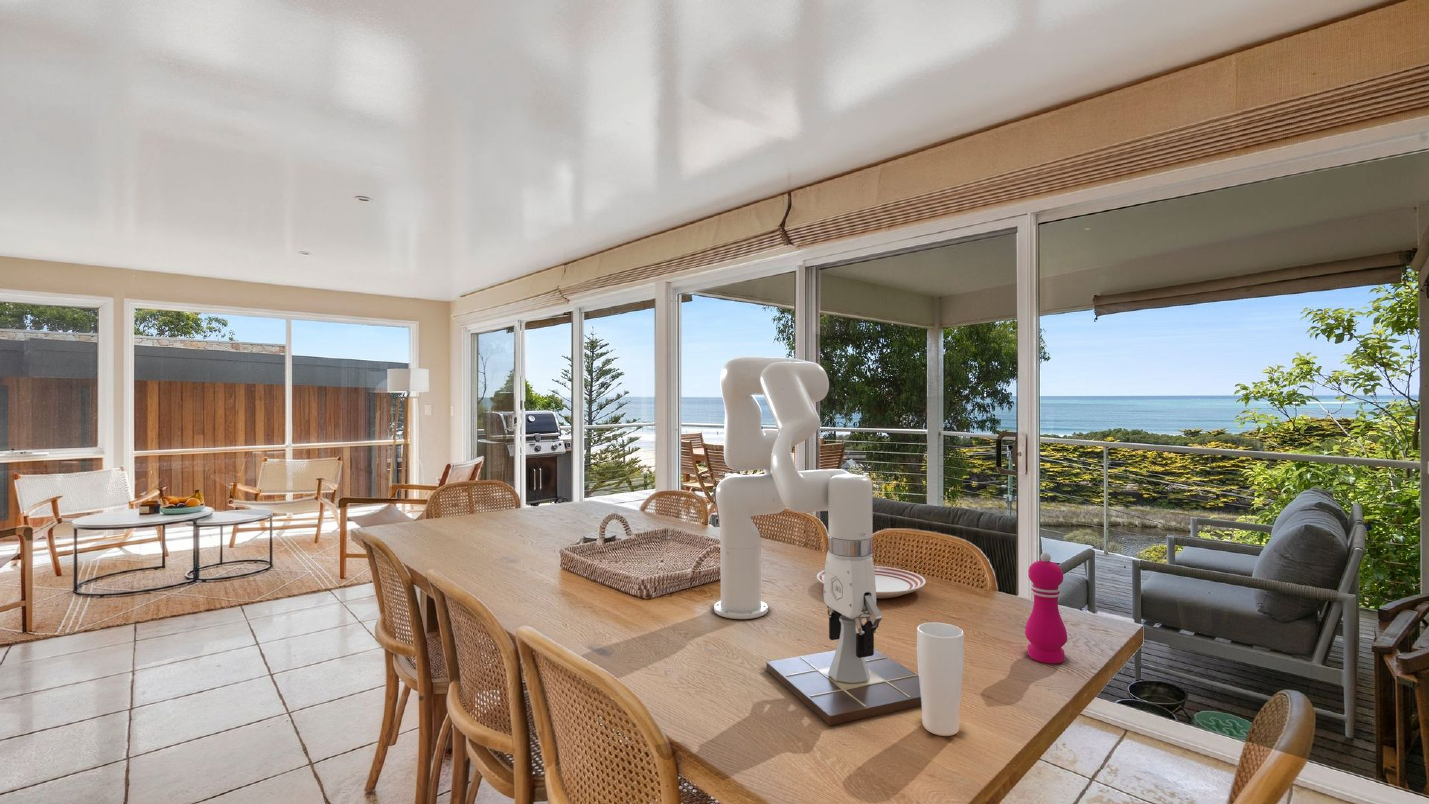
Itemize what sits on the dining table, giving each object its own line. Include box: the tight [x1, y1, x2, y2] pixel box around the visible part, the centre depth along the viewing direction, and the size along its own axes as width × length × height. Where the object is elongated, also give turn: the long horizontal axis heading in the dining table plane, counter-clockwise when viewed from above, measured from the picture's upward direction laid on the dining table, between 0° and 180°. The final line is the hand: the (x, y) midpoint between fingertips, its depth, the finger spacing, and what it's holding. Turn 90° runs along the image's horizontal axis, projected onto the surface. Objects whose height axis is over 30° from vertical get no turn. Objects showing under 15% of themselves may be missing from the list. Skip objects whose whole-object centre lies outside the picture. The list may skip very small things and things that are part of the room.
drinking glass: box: [916, 621, 965, 737], centre depth 98 cm, size 7×7×15 cm
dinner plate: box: [816, 565, 927, 599], centre depth 170 cm, size 27×27×3 cm
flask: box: [828, 616, 870, 683], centre depth 114 cm, size 7×7×10 cm
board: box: [765, 648, 922, 727], centre depth 114 cm, size 22×22×2 cm
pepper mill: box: [1024, 552, 1068, 664], centre depth 125 cm, size 7×7×20 cm
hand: (850, 646), depth 114 cm, fingers open, 7 cm apart
